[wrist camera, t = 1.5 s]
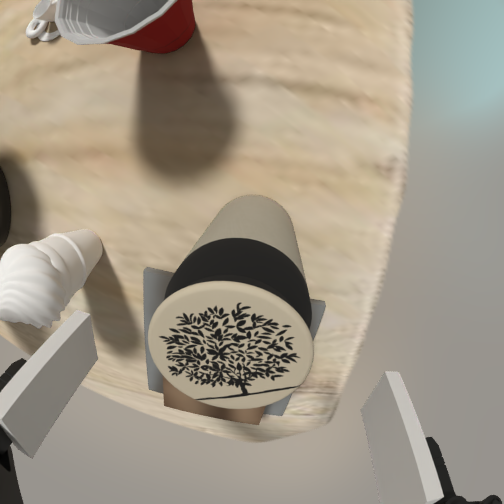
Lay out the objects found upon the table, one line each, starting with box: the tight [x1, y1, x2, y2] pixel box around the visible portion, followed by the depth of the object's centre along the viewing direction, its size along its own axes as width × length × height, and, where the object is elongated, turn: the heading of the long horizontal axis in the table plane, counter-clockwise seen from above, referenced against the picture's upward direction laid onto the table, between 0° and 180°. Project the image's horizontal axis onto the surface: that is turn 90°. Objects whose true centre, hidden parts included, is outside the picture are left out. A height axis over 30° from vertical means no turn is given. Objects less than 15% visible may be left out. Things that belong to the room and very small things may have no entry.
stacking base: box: [144, 267, 326, 425], centre depth 32 cm, size 20×20×6 cm
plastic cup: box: [55, 0, 195, 53], centre depth 16 cm, size 11×11×12 cm
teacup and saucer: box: [26, 0, 60, 41], centre depth 18 cm, size 9×8×4 cm
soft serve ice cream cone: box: [0, 229, 103, 329], centre depth 23 cm, size 8×8×16 cm
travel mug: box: [148, 195, 314, 409], centre depth 20 cm, size 8×8×18 cm
